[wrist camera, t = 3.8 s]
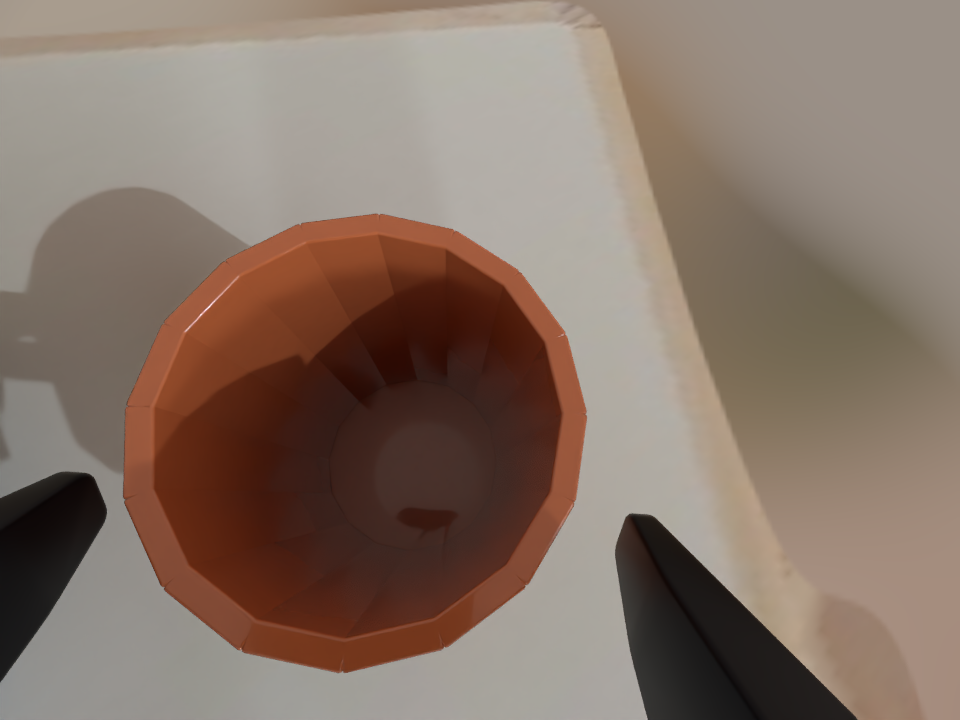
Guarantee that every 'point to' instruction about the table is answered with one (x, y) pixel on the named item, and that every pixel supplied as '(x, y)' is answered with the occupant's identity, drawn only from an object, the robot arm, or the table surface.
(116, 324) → the table surface
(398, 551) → the cup
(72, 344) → the table surface
